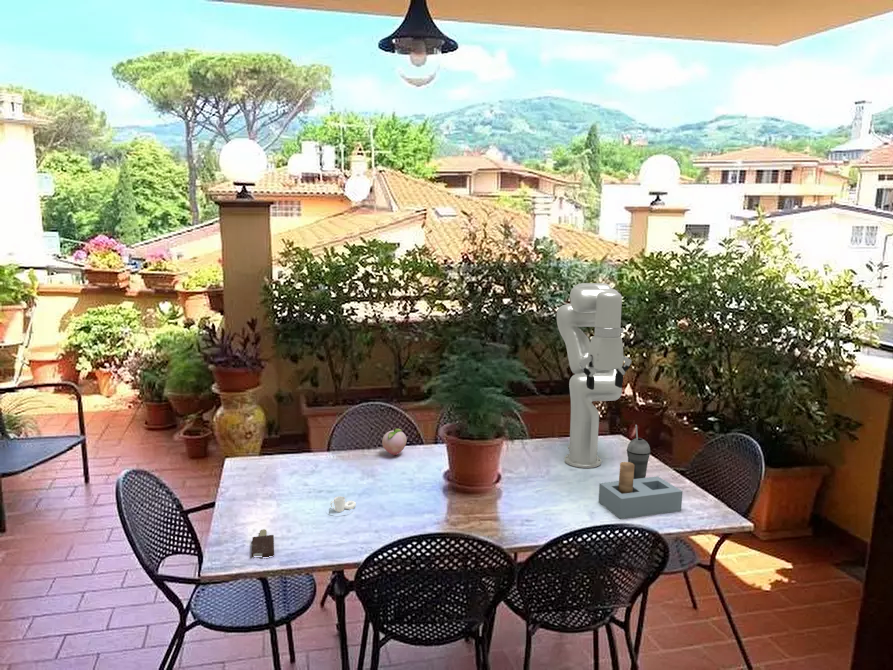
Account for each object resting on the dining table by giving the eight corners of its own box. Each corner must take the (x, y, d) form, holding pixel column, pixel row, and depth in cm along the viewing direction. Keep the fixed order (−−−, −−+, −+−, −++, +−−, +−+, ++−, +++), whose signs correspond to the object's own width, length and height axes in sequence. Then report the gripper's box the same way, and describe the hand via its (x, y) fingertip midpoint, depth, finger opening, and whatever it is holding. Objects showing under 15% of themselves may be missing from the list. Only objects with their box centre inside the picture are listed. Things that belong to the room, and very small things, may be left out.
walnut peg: (614, 501, 196) (617, 462, 194) (626, 499, 197) (629, 461, 195) (622, 507, 192) (625, 467, 190) (634, 505, 193) (637, 466, 191)
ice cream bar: (253, 534, 177) (252, 561, 163) (252, 528, 177) (251, 555, 163) (273, 531, 179) (274, 558, 165) (273, 526, 179) (274, 552, 164)
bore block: (598, 502, 199) (599, 483, 198) (656, 494, 205) (657, 476, 204) (620, 519, 188) (621, 498, 187) (681, 510, 194) (682, 491, 193)
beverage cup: (649, 491, 208) (653, 429, 204) (625, 489, 209) (628, 427, 206) (647, 482, 215) (651, 422, 211) (623, 480, 216) (627, 420, 213)
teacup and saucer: (355, 504, 197) (355, 491, 196) (357, 516, 189) (357, 502, 188) (325, 507, 195) (324, 494, 194) (326, 519, 187) (325, 505, 186)
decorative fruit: (387, 449, 243) (387, 423, 242) (409, 452, 241) (409, 425, 240) (378, 458, 234) (378, 430, 233) (400, 460, 232) (400, 433, 231)
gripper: (625, 329, 208) (622, 383, 211) (575, 331, 203) (573, 386, 206) (639, 333, 201) (636, 388, 204) (587, 335, 196) (585, 392, 199)
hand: (604, 387), depth 205 cm, fingers open, 9 cm apart
